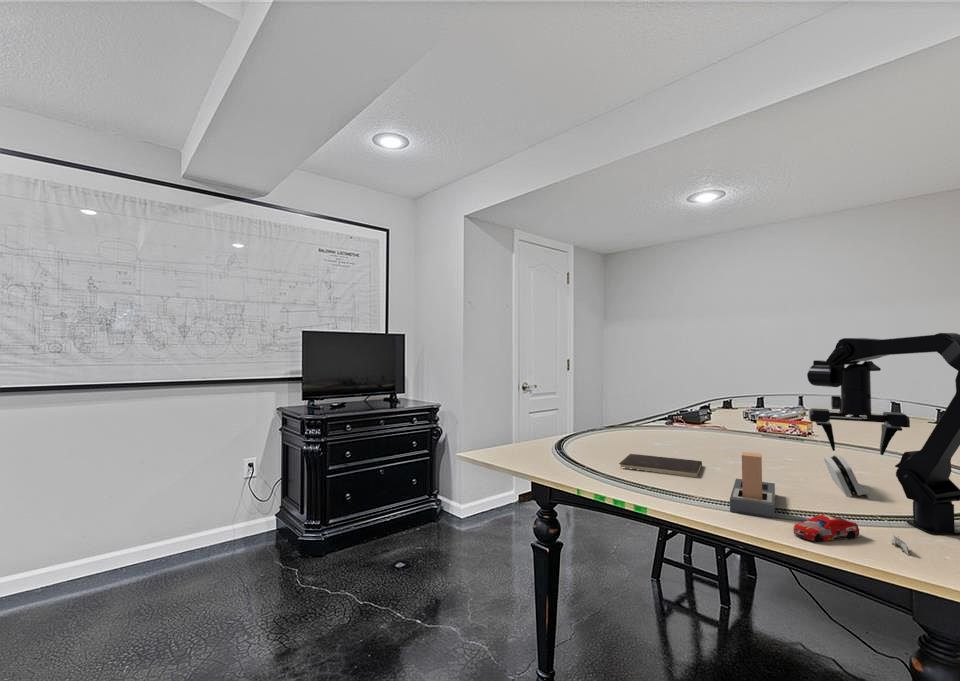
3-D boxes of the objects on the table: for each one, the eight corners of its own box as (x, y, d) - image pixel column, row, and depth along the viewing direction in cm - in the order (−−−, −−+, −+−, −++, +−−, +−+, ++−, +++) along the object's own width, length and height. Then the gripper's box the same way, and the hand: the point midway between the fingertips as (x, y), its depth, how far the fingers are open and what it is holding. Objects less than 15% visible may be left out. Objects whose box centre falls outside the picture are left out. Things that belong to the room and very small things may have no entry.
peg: (762, 512, 110) (760, 457, 110) (742, 509, 112) (741, 455, 112) (762, 507, 113) (761, 453, 114) (743, 504, 116) (742, 452, 116)
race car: (809, 545, 92) (808, 525, 92) (786, 534, 98) (786, 515, 98) (865, 539, 94) (865, 520, 95) (841, 529, 100) (840, 510, 100)
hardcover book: (696, 479, 139) (696, 472, 139) (619, 470, 151) (619, 463, 151) (702, 467, 153) (701, 460, 153) (630, 459, 165) (630, 453, 165)
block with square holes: (774, 518, 106) (774, 504, 106) (730, 511, 111) (729, 497, 111) (775, 494, 123) (774, 482, 123) (736, 489, 128) (736, 477, 128)
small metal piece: (921, 560, 86) (921, 544, 86) (906, 558, 87) (905, 542, 87) (904, 546, 92) (904, 531, 92) (890, 544, 92) (889, 529, 92)
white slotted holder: (871, 499, 118) (853, 461, 120) (849, 503, 120) (832, 465, 122) (854, 482, 133) (838, 448, 135) (835, 486, 135) (820, 452, 137)
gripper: (898, 387, 116) (900, 450, 116) (807, 385, 126) (808, 442, 126) (909, 391, 106) (911, 459, 106) (809, 388, 116) (811, 450, 116)
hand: (857, 452), depth 114 cm, fingers open, 9 cm apart
